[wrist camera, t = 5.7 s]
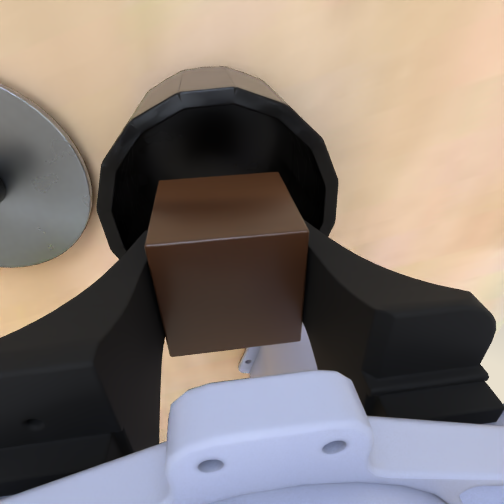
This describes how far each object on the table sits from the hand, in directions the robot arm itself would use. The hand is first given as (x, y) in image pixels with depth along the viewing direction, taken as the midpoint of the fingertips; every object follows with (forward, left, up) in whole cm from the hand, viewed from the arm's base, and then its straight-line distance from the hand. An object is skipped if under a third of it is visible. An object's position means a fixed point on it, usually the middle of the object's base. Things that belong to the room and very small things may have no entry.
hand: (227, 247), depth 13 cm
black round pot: (0, 0, -9) cm, 9 cm away
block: (0, 0, -1) cm, 1 cm away
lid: (-4, +11, -8) cm, 15 cm away
